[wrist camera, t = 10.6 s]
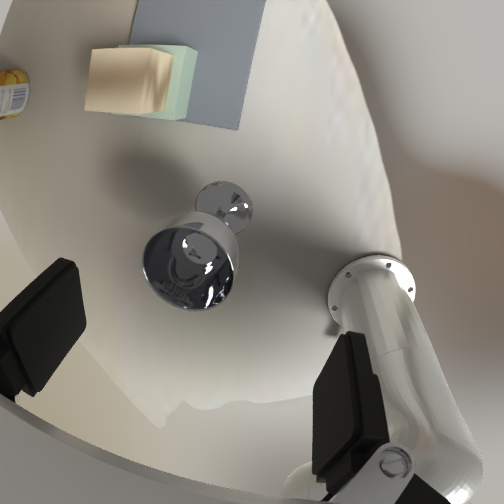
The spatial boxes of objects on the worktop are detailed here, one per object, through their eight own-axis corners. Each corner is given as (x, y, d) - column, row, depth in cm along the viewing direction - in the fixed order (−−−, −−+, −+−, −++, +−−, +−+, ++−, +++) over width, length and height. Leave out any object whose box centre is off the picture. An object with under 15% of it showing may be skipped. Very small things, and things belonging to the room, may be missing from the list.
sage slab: (185, 117, 33) (173, 120, 29) (125, 111, 33) (108, 113, 29) (198, 51, 29) (186, 46, 25) (135, 48, 29) (118, 44, 26)
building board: (238, 129, 34) (236, 130, 33) (122, 113, 34) (118, 114, 33) (267, -6, 26) (266, -9, 25) (145, -11, 26) (142, -12, 25)
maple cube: (165, 110, 29) (138, 114, 24) (115, 106, 29) (84, 110, 24) (174, 55, 26) (149, 47, 21) (123, 54, 26) (92, 49, 21)
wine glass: (213, 165, 36) (166, 207, 23) (268, 203, 37) (253, 266, 24) (181, 215, 40) (129, 277, 26) (232, 250, 41) (203, 325, 28)
